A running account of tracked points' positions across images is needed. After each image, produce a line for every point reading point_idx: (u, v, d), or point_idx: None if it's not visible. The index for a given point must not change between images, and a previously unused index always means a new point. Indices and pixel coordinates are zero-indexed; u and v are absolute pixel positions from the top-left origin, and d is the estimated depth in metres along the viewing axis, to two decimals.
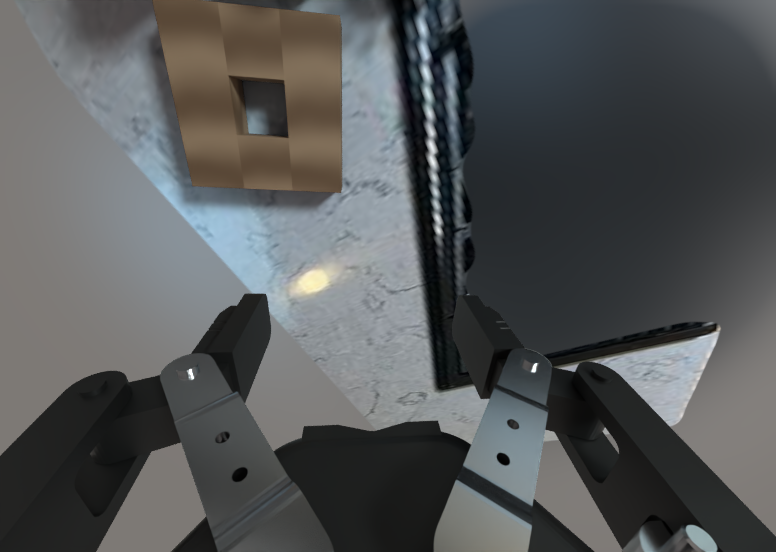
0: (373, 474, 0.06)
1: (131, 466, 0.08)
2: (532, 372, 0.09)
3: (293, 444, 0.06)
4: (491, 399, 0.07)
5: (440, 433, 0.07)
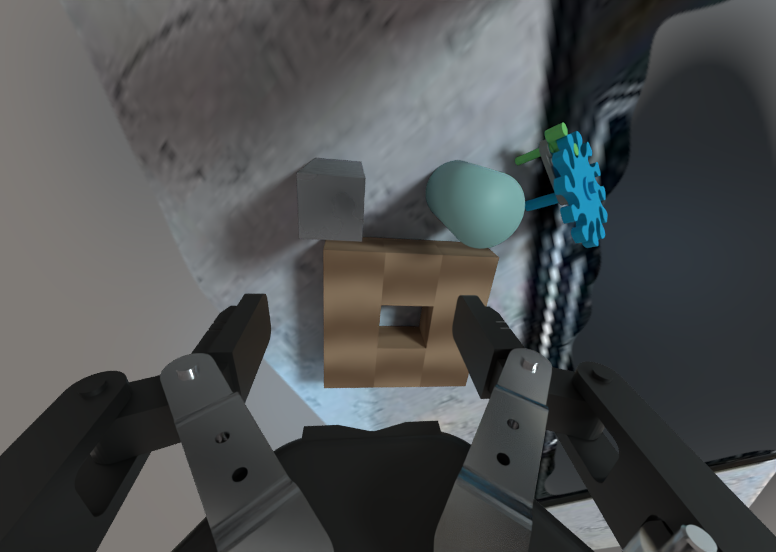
0: (373, 474, 0.06)
1: (131, 466, 0.08)
2: (532, 372, 0.09)
3: (293, 444, 0.06)
4: (491, 399, 0.07)
5: (440, 433, 0.07)
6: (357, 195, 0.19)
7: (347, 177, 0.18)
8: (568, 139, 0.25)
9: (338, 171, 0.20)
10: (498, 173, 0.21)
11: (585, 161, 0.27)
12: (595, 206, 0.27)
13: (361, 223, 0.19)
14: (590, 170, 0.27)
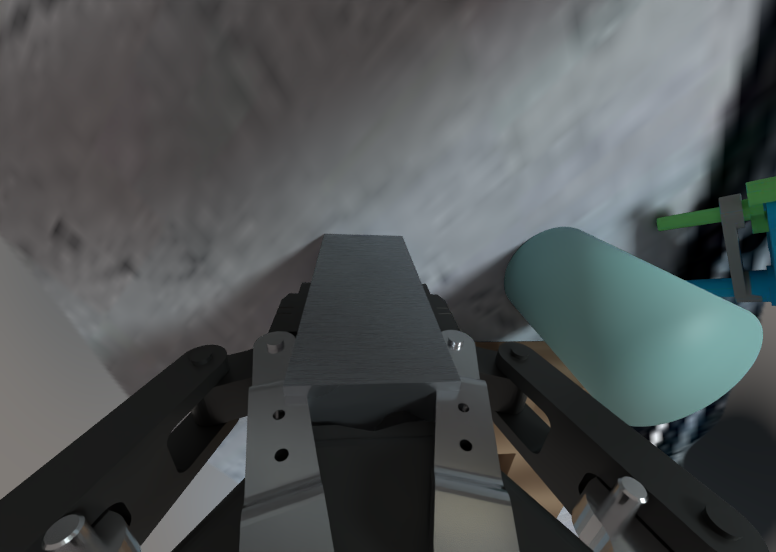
0: (373, 474, 0.06)
1: (216, 434, 0.08)
2: (454, 350, 0.09)
3: None
4: None
5: None
6: None
7: (415, 382, 0.07)
8: None
9: (382, 328, 0.09)
10: (725, 308, 0.10)
11: None
12: None
13: None
14: None
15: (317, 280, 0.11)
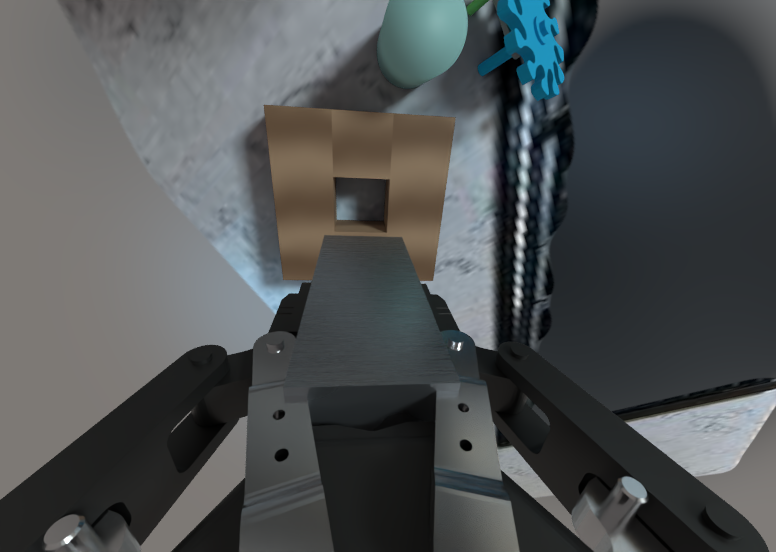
0: (373, 474, 0.06)
1: (216, 434, 0.08)
2: (454, 350, 0.09)
3: None
4: None
5: None
6: None
7: (415, 384, 0.07)
8: None
9: (382, 329, 0.09)
10: None
11: (540, 4, 0.25)
12: (548, 56, 0.25)
13: None
14: (545, 18, 0.25)
15: (317, 281, 0.11)
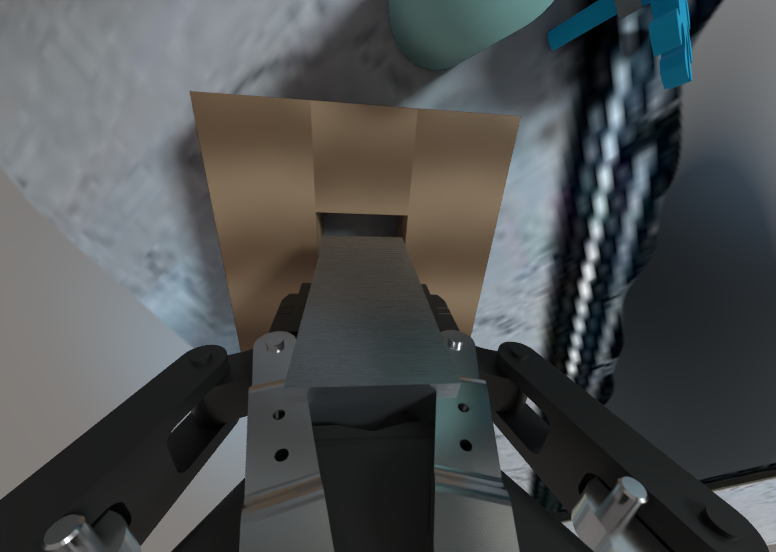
0: (373, 474, 0.06)
1: (216, 434, 0.08)
2: (454, 350, 0.09)
3: None
4: None
5: None
6: None
7: (415, 384, 0.07)
8: None
9: (382, 329, 0.09)
10: None
11: None
12: (684, 13, 0.14)
13: None
14: None
15: (317, 282, 0.11)
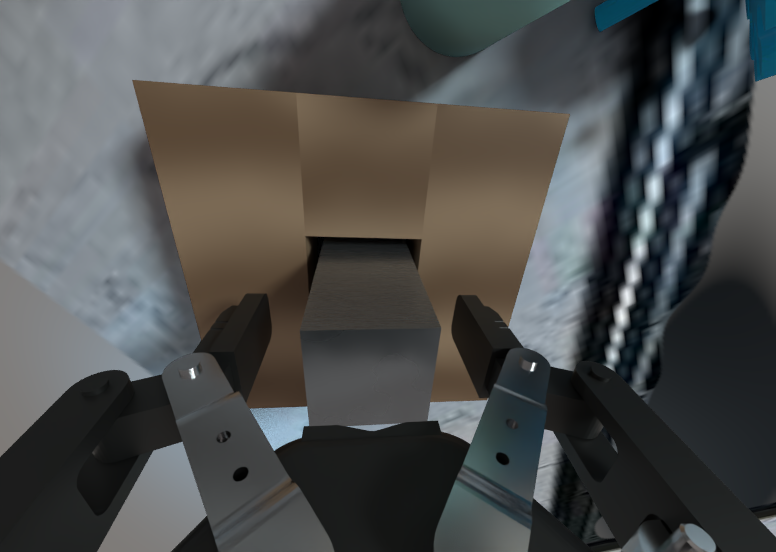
0: (373, 474, 0.06)
1: (133, 465, 0.08)
2: (530, 371, 0.09)
3: (293, 444, 0.06)
4: (490, 399, 0.07)
5: (440, 433, 0.07)
6: (422, 357, 0.09)
7: (404, 329, 0.09)
8: None
9: (378, 292, 0.10)
10: None
11: None
12: None
13: (427, 397, 0.10)
14: None
15: (323, 259, 0.13)
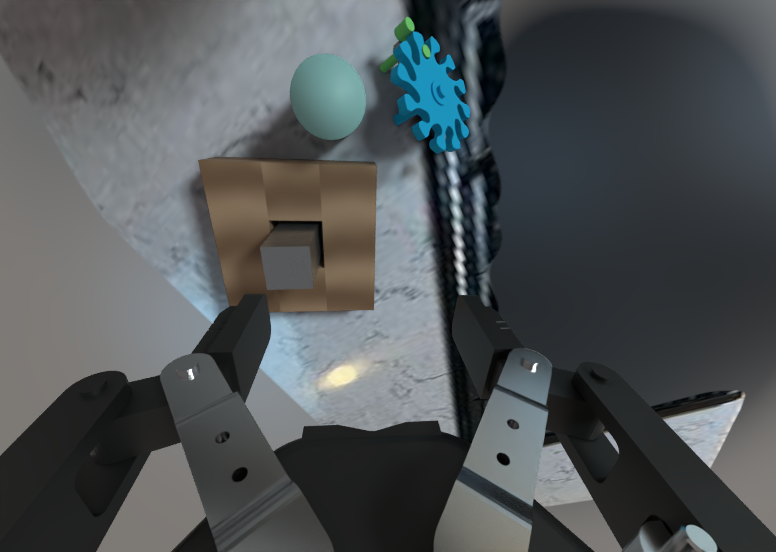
0: (373, 474, 0.06)
1: (131, 466, 0.08)
2: (532, 372, 0.09)
3: (293, 444, 0.06)
4: (491, 399, 0.07)
5: (440, 433, 0.07)
6: (305, 258, 0.26)
7: (296, 246, 0.25)
8: (414, 36, 0.25)
9: (293, 238, 0.27)
10: (329, 55, 0.22)
11: (441, 69, 0.27)
12: (449, 115, 0.28)
13: (311, 276, 0.27)
14: (448, 81, 0.28)
15: (276, 229, 0.30)
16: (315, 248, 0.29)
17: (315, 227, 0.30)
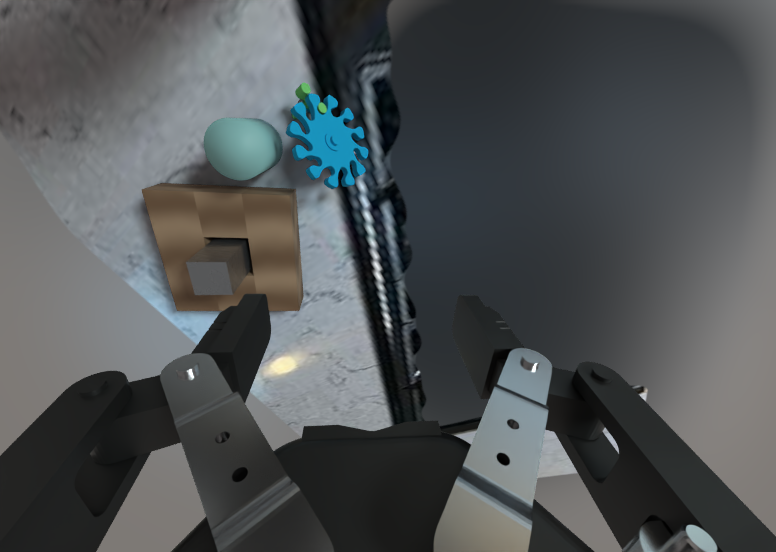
0: (373, 474, 0.06)
1: (131, 466, 0.08)
2: (532, 372, 0.09)
3: (293, 444, 0.06)
4: (491, 399, 0.07)
5: (440, 433, 0.07)
6: (223, 271, 0.33)
7: (215, 262, 0.32)
8: (310, 97, 0.32)
9: (217, 254, 0.34)
10: (232, 119, 0.28)
11: (338, 120, 0.34)
12: (343, 158, 0.34)
13: (229, 285, 0.34)
14: (344, 129, 0.35)
15: (208, 245, 0.36)
16: (239, 261, 0.36)
17: (242, 243, 0.37)
